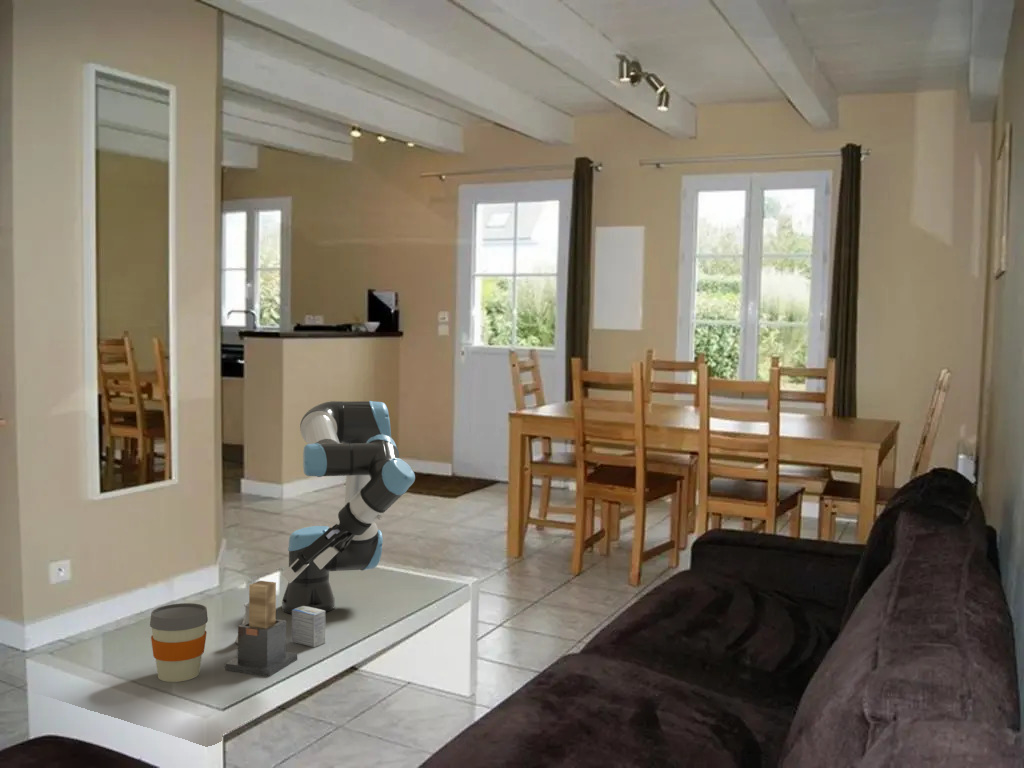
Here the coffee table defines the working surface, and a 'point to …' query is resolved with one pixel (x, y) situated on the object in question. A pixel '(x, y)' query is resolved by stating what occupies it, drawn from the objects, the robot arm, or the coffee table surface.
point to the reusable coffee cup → (178, 640)
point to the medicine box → (308, 626)
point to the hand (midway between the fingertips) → (302, 571)
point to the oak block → (262, 604)
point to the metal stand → (261, 650)
